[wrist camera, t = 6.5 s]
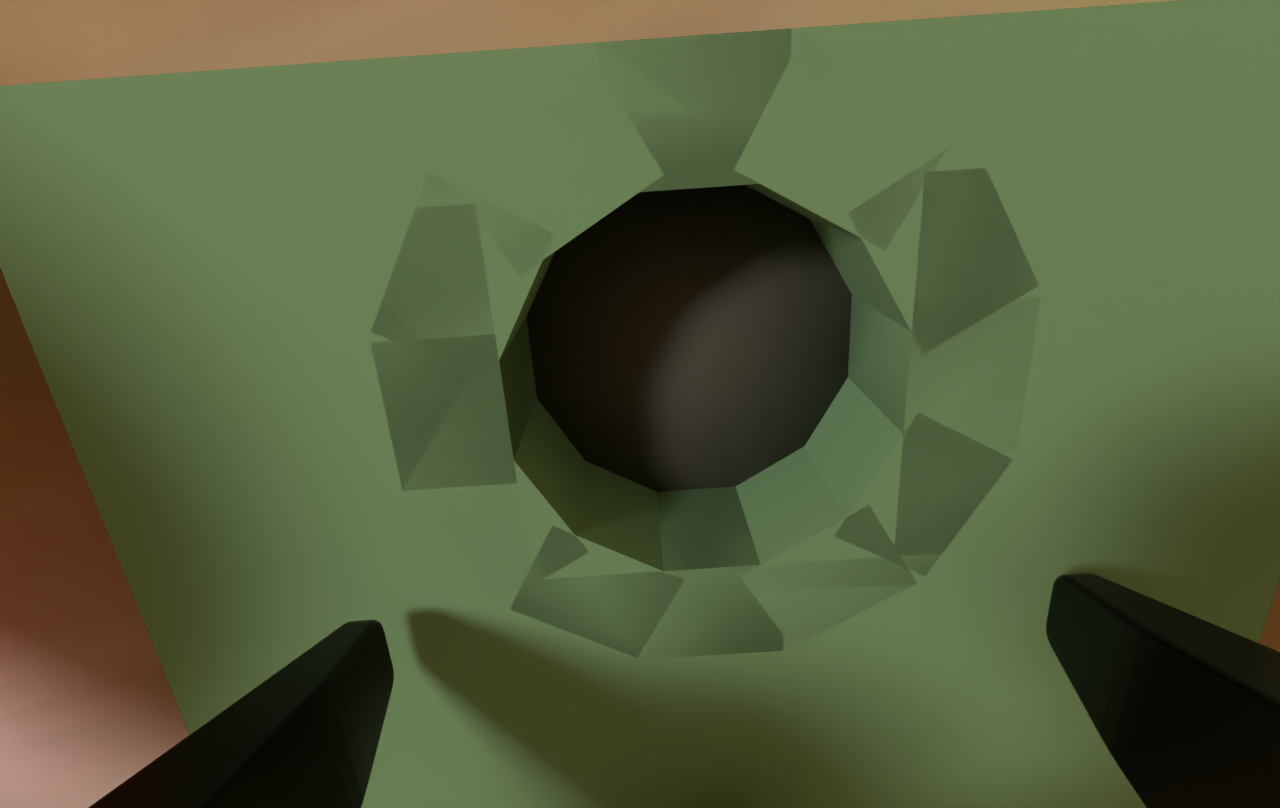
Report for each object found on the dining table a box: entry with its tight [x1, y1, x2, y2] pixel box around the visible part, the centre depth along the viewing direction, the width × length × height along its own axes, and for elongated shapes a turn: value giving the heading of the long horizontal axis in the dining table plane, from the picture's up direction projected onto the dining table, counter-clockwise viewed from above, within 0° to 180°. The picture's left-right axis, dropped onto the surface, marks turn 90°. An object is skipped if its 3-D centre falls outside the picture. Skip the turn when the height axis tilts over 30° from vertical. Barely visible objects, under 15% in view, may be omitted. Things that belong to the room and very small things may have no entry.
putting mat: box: [0, 0, 1280, 808], centre depth 12 cm, size 20×16×2 cm
